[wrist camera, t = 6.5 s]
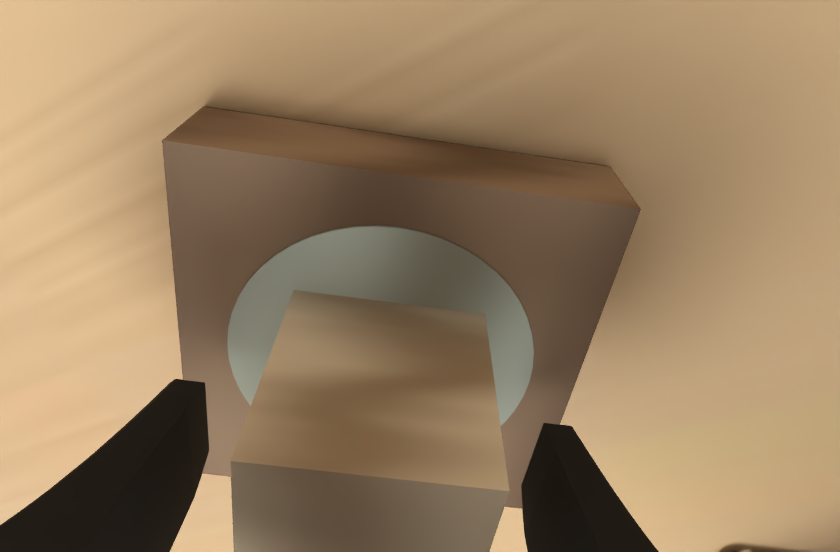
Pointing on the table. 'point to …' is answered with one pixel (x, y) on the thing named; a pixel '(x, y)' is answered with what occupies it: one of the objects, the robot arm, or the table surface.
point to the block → (371, 433)
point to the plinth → (386, 254)
